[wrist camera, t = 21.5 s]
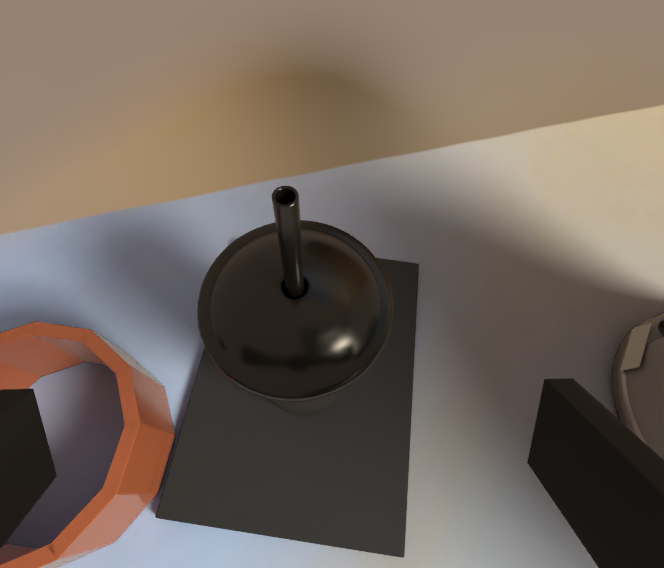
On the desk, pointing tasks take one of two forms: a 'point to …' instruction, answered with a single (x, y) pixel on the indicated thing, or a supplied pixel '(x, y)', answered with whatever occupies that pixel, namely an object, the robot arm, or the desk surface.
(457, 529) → the desk surface
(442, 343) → the desk surface
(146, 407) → the pot
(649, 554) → the robot arm
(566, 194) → the desk surface
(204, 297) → the drinking cup
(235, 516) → the mat
